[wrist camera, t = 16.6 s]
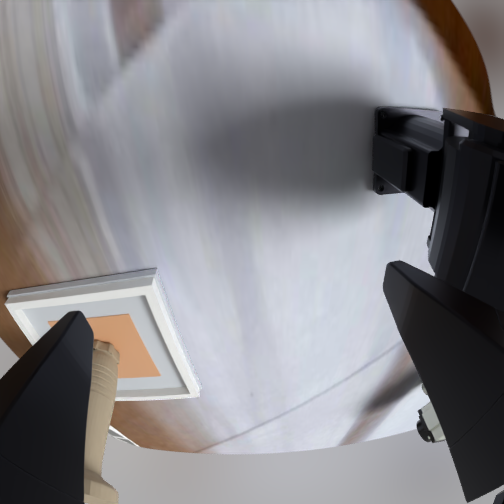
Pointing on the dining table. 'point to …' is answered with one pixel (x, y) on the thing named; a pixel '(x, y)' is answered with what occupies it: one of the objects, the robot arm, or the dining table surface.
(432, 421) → the pneumatic valve
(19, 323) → the white shallow tray
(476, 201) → the robot arm
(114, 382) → the handle
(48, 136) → the dining table surface
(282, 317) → the dining table surface
